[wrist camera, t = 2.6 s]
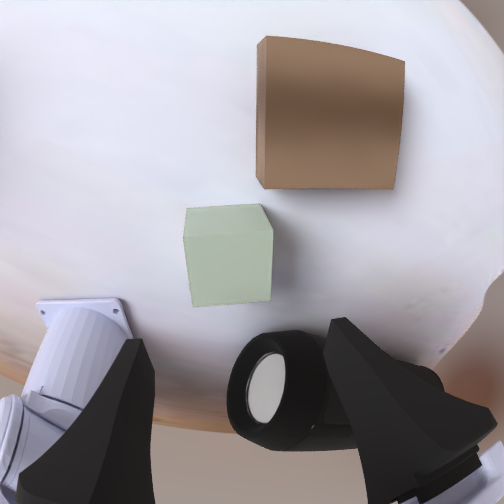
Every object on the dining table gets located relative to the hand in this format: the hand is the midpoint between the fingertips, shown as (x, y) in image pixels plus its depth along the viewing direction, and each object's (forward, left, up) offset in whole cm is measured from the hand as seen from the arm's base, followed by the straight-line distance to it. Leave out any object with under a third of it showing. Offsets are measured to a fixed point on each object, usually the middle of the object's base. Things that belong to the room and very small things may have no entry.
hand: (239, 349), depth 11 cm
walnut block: (+8, -6, -10) cm, 14 cm away
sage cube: (0, 0, -10) cm, 10 cm away
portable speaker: (-16, -12, -10) cm, 23 cm away
